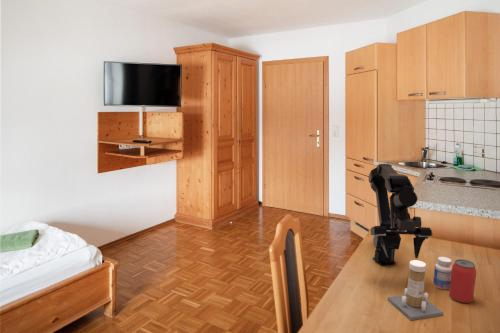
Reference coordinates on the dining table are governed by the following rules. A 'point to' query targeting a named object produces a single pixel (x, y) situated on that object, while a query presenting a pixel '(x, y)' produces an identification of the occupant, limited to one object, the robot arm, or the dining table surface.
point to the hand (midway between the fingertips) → (402, 257)
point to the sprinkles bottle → (416, 283)
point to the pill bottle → (443, 273)
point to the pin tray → (415, 312)
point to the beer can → (462, 281)
